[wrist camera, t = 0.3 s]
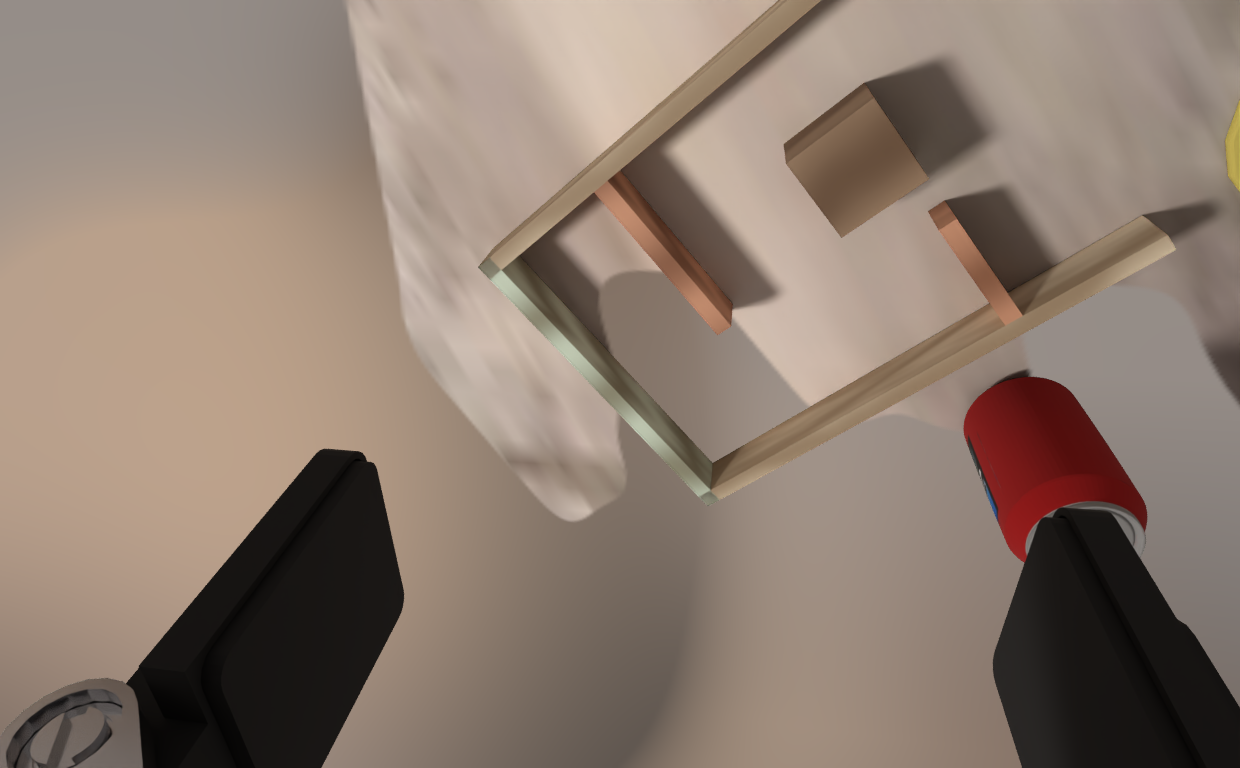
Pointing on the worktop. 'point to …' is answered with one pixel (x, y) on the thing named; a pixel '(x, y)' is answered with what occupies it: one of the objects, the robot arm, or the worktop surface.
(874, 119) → the block
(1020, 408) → the beverage can
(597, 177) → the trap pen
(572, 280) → the worktop surface
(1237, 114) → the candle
